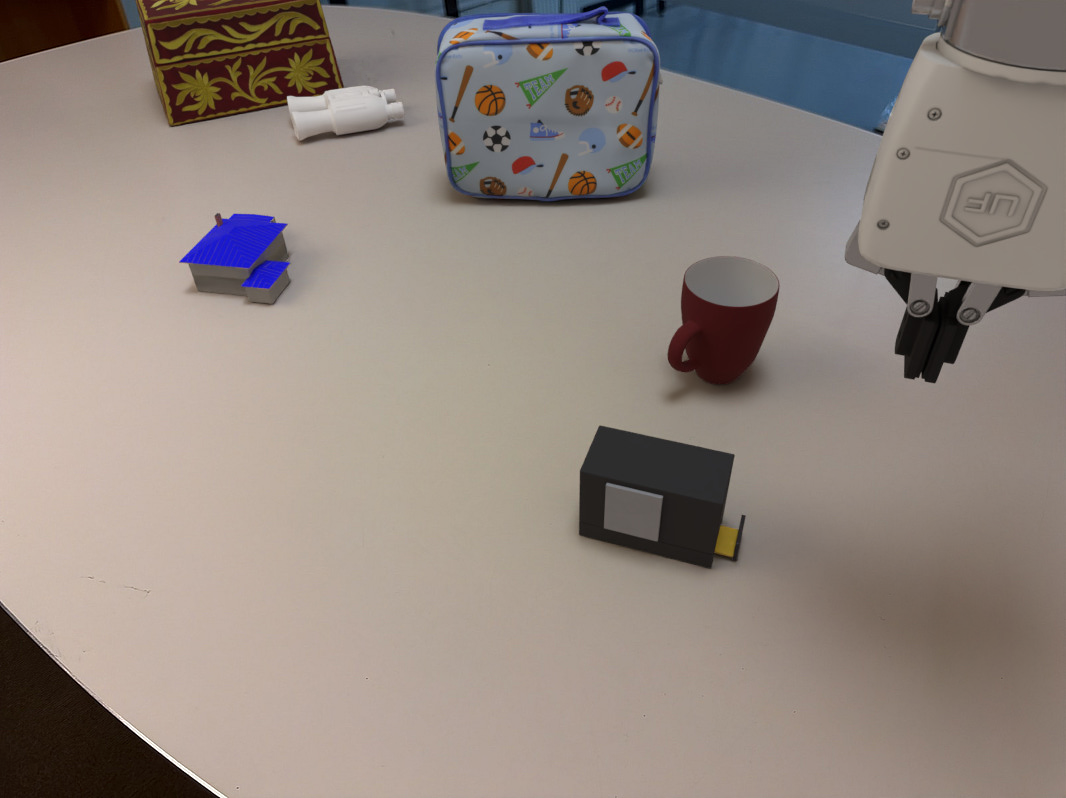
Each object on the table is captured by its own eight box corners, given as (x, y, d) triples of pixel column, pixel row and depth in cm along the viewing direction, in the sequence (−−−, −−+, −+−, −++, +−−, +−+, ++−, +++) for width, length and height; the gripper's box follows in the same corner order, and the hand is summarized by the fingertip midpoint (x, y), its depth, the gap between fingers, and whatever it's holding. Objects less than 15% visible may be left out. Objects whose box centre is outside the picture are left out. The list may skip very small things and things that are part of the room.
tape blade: (742, 532, 61) (746, 515, 59) (736, 561, 59) (740, 543, 57) (617, 502, 63) (618, 485, 62) (607, 529, 61) (608, 511, 60)
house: (326, 239, 96) (316, 196, 92) (274, 307, 86) (261, 261, 82) (239, 232, 98) (226, 189, 94) (178, 297, 88) (161, 252, 84)
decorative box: (169, 127, 123) (134, 23, 113) (156, 88, 136) (124, -9, 126) (346, 93, 131) (328, -7, 122) (318, 60, 144) (299, -33, 134)
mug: (711, 426, 70) (726, 333, 63) (638, 385, 74) (645, 294, 68) (778, 370, 75) (798, 278, 69) (707, 335, 80) (719, 245, 73)
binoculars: (290, 120, 124) (283, 89, 121) (393, 104, 127) (389, 74, 124) (298, 147, 116) (291, 115, 113) (407, 129, 120) (403, 98, 117)
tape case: (723, 516, 62) (735, 451, 58) (710, 572, 58) (722, 507, 54) (597, 486, 65) (600, 422, 60) (577, 538, 61) (578, 473, 56)
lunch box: (652, 166, 108) (665, -13, 94) (664, 202, 101) (681, 13, 86) (447, 174, 108) (428, -4, 94) (443, 212, 100) (422, 24, 86)
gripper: (850, 32, 33) (774, 381, 45) (1292, 64, 29) (1078, 438, 41) (859, -17, 38) (789, 307, 50) (1233, 4, 34) (1059, 351, 46)
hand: (919, 365), depth 45 cm, fingers closed
